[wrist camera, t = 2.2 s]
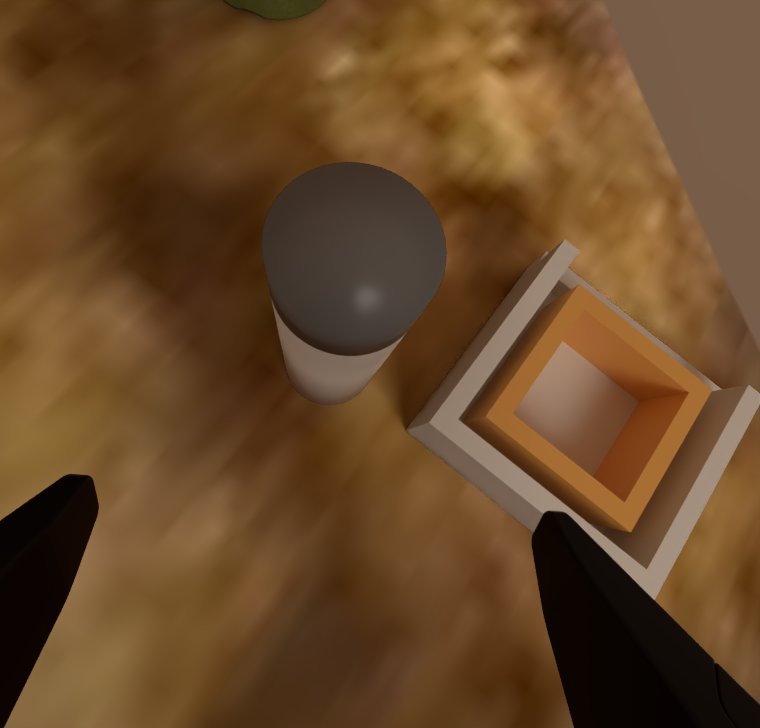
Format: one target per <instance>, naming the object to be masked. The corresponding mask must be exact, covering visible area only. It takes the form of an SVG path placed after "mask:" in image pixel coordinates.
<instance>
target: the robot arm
mask: <svg viewBox="0 0 760 728" xmlns="http://www.w3.org/2000/svg"><path fill="white" fill-rule="evenodd" d="M98 510H99V504H98V499H97V494H96V490H95V486H94V481H93V479H92V477H90V476H88V475H78V474H68V475H65V476H63V477H62V478H60V479H59V480H57V481H56V482H55V483H53V484H52V485H50V486H49V487H47V488H46V489H45V490H43V491H42V492H40V493H39V494H37V495H36V496H35V497H33V498H32V499H30V500H29V501H27V502H26V503H25V504H23V505H22V506H20V507H19V508H17V509H16V510H15V511H13V512H12V513H10V514H9V515H8V516H6V517H5V518H3V519H2V520H0V728H4V726H5V724H6V722H7V720H8V718H9V716H10V714H11V712H12V710H13V708H14V706H15V704H16V702H17V700H18V698H19V696H20V694H21V692H22V690H23V688H24V686H25V684H26V682H27V680H28V678H29V675H30V673H31V671H32V669H33V667H34V665H35V663H36V661H37V659H38V657H39V655H40V653H41V651H42V649H43V647H44V645H45V643H46V641H47V639H48V637H49V635H50V633H51V631H52V629H53V627H54V624H55V622H56V620H57V618H58V616H59V614H60V612H61V610H62V608H63V606H64V604H65V602H66V599H67V597H68V595H69V592H70V590H71V587H72V585H73V582H74V579H75V577H76V574H77V571H78V568H79V566H80V563H81V560H82V557H83V554H84V552H85V549H86V546H87V543H88V541H89V538H90V535H91V532H92V530H93V527H94V524H95V521H96V519H97V515H98ZM532 550H533V556H534V562H535V568H536V574H537V580H538V586H539V592H540V598H541V604H542V609H543V615H544V619H545V623H546V627H547V631H548V635H549V638H550V642H551V646H552V649H553V653H554V656H555V660H556V664H557V667H558V671H559V675H560V678H561V682H562V686H563V689H564V693H565V696H566V700H567V704H568V707H569V711H570V715H571V718H572V722H573V725H574V728H760V704H759V703H758V702H757V701H756V700H755V699H753V698H752V697H751V696H750V695H749V694H748V693H747V692H746V691H745V690H744V689H743V688H742V687H741V686H740V685H739V684H738V683H737V682H736V681H735V680H734V679H733V678H732V677H731V676H730V675H729V674H728V673H727V672H726V671H725V670H724V669H723V668H722V667H721V666H720V665H719V664H717V663H714V659H713V658H712V657H711V656H710V655H709V654H708V653H707V652H706V651H705V650H704V649H703V648H702V647H701V646H700V645H699V644H698V643H697V642H696V641H695V640H694V639H693V638H692V637H691V636H690V635H689V634H688V633H687V632H686V631H685V630H684V629H683V628H682V627H681V626H680V625H679V624H678V623H677V622H676V621H675V620H674V619H673V618H672V617H671V616H670V615H669V614H668V613H667V612H666V611H665V610H664V609H663V608H662V607H661V606H660V605H659V604H658V603H657V602H656V601H655V600H654V599H653V598H652V597H651V596H650V595H649V594H648V593H647V592H646V591H645V590H644V589H643V588H642V587H641V586H640V585H639V584H638V583H637V582H636V581H635V580H634V579H633V578H632V577H631V576H630V575H629V574H628V573H627V572H626V571H625V570H624V569H623V568H622V567H621V566H620V565H619V564H618V563H617V562H616V561H615V560H614V559H613V558H612V557H611V556H610V555H609V554H608V553H607V552H606V551H605V550H604V549H603V548H602V547H601V546H600V545H599V544H598V543H597V542H596V541H595V540H594V539H593V538H592V537H591V536H590V535H589V534H588V533H587V532H586V531H585V530H584V529H583V528H582V527H581V526H580V525H579V524H578V523H577V522H576V521H575V520H574V519H573V518H572V517H571V516H569V515H568V514H567V513H565V512H562V511H551V510H549V511H546V512H545V513H544V514H543V515H542V517H541V519H540V521H539V523H538V525H537V527H536V529H535V531H534V533H533V535H532Z"/></svg>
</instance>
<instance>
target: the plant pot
mask: <svg viewBox="0 0 760 728" xmlns="http://www.w3.org/2000/svg"><path fill="white" fill-rule="evenodd" d="M224 1H226V2H227V3H229V4H230V5H232V6H233V7H235V8H242V9H246V10H249V11H252V12H254V13H257V14H259V15H261V16H262V17H264V18H267V19H290V18H295V17H299V16H303V15H306V14H308V13H310V12H312V11H313V10H315V9H317V8H318V7H319V6H321V5H322V4H323V3H324V2H325V1H326V0H224Z"/></svg>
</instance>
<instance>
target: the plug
mask: <svg viewBox="0 0 760 728" xmlns="http://www.w3.org/2000/svg"><path fill="white" fill-rule="evenodd" d="M446 253H447V252H446V241H445V236H444V232H443V229H442V226H441V223H440V221H439V218H438V216H437V214H436V213H435V211H434V209H433V208H432V206H431V205H430V203H429V202H428V200H427V199H426V198H425V197H424V196H423V195H422V193H421V192H420V191H419V190H417V189H416V188H415V187H414V186H413V185H412V184H411V183H409V182H408V181H406V180H405V179H403V178H402V177H400V176H398V175H397V174H395V173H393V172H391V171H388V170H386V169H383V168H381V167H377V166H374V165H370V164H364V163H355V162H343V163H333V164H328V165H324V166H321V167H318V168H315V169H312V170H310V171H308V172H306V173H304V174H302V175H301V176H299V177H298V178H296V179H295V180H293V181H292V182H291V183H290V184H289V185H287V186H286V187H285V188H284V189H283V190H282V192H281V193H280V194H279V195H278V196H277V198H276V199H275V201H274V202H273V204H272V206H271V207H270V210H269V212H268V214H267V216H266V220H265V223H264V227H263V233H262V255H263V261H264V266H265V271H266V276H267V281H268V285H269V290H270V295H271V300H272V304H273V309H274V314H275V319H276V323H277V328H278V333H279V338H280V342H281V347H282V352H283V357H284V361H285V366H286V371H287V374H288V377H289V380H290V382H291V383H292V385H293V387H294V388H295V389H296V390H297V391H298V392H299V393H300V394H301V395H302V396H303V397H305V398H306V399H308V400H310V401H312V402H315V403H318V404H323V405H336V404H341V403H344V402H347V401H349V400H351V399H352V398H354V397H355V396H357V395H358V394H359V393H360V392H361V391H362V390H363V389H364V387H365V386H366V385H367V384H368V382H369V381H370V380H371V378H372V377H373V376H374V374H375V373H376V372H377V371H378V369H379V368H380V367H381V365H382V364H383V363H384V362H385V360H386V359H387V358H388V356H389V355H390V354H391V352H392V351H393V350H394V349H395V347H396V346H397V345H398V343H399V342H400V341H401V339H402V338H403V337H404V336H405V334H406V333H407V332H408V330H409V329H410V328H411V327H412V325H413V324H414V323H415V321H416V320H417V319H418V317H419V316H420V315H421V314H422V312H423V311H424V310H425V308H426V307H427V306H428V304H429V303H430V302H431V300H432V299H433V297H434V296H435V294H436V292H437V290H438V288H439V286H440V284H441V282H442V279H443V276H444V271H445V266H446Z"/></svg>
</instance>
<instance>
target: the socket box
mask: <svg viewBox="0 0 760 728" xmlns="http://www.w3.org/2000/svg"><path fill="white" fill-rule="evenodd" d="M578 253H579V250H578V249H577V248H575V247H574V246H573V245H572V244H570V243H569V242H568V241H566V240H565V239H564V240H563V241H562V242H561V243H560V244H559V245H557V246H556V247H555V248H554V249H553V250H552V251H551V252H547V251H546V252H545V253H543V254H542V255H541V256H540V257H539V258H538V259H537V260H535V261H534V262H533V263H532V264H531V265H530V266H529V267H528V268H527V269H526V270H525V272H524V273H523V274H522V276H521V277H520V278H519V280H518V281H517V282H516V284H515V285H514V286H513V288H512V289H511V290H510V292H509V293H508V294H507V296H506V297H505V298H504V300H503V301H502V302H501V304H500V305H499V306H498V308H497V309H496V310H495V312H494V313H493V314H492V316H491V317H490V318H489V320H488V321H487V322H486V324H485V325H484V326H483V328H482V329H481V330H480V332H479V333H478V334H477V336H476V337H475V338H474V340H473V341H472V342H471V344H470V345H469V346H468V348H467V349H466V350H465V352H464V353H463V354H462V356H461V357H460V358H459V360H458V361H457V362H456V364H455V365H454V366H453V368H452V369H451V370H450V372H449V373H448V374H447V376H446V377H445V378H444V380H443V381H442V382H441V384H440V385H439V386H438V388H437V389H436V390H435V392H434V393H433V394H432V396H431V397H430V398H429V400H428V401H427V402H426V404H425V405H424V406H423V408H422V409H421V410H420V412H419V413H418V414H417V416H416V417H415V418H414V420H413V421H412V422H411V424H410V425H409V426H408V427H407V429H406V430H405V431H407V432H408V433H409V434H410V435H412V436H413V437H414V438H415V439H417V440H418V441H419V442H420V443H422V444H423V445H424V446H425V447H427V448H428V449H429V450H430V451H432V452H433V453H434V454H435V455H437V456H438V457H439V458H440V459H442V460H443V461H444V462H445V463H447V464H448V465H449V466H450V467H452V468H453V469H454V470H455V471H457V472H458V473H459V474H460V475H462V476H463V477H464V478H465V479H467V480H468V481H469V482H470V483H472V484H473V485H474V486H475V487H477V488H478V489H479V490H480V491H482V492H483V493H484V494H486V495H487V496H488V497H489V498H491V499H492V500H493V501H494V502H496V503H497V504H498V505H499V506H501V507H502V508H503V509H504V510H506V511H507V512H508V513H509V514H511V515H512V516H513V517H514V518H516V519H517V520H518V521H519V522H521V523H522V524H523V525H524V526H526V527H527V528H528V529H529V530H531V531H532V532H533V533H534V531H535V529H536V527H537V525H538V523H539V521H540V519H541V517H542V515H543V514H544V513H545V512H546V511H549V510H551V511H562V512H565V513H567V514H568V515H569V516H571V517H572V518H573V519H574V520H575V521H576V522H577V523H578V524H579V525H580V526H581V527H582V528H583V529H584V530H585V531H586V532H587V533H588V534H589V535H590V536H591V537H592V538H593V539H594V540H595V541H596V542H597V543H598V544H599V545H600V546H601V547H602V548H603V549H604V550H605V551H606V552H607V553H608V554H609V555H610V556H611V557H612V558H613V559H614V560H615V561H616V562H617V563H618V564H619V565H620V566H621V567H622V568H623V569H624V570H625V571H626V572H627V573H628V574H629V575H630V576H631V577H632V578H633V579H634V580H635V581H636V582H637V583H638V584H639V585H640V586H641V587H642V588H643V589H644V590H645V591H646V592H647V593H648V594H649V595H650V596H651V597H652V598H653V599H654V600H655V598H656V596H657V595H658V593H659V591H660V589H661V587H662V585H663V583H664V581H665V580H666V578H667V576H668V574H669V572H670V570H671V568H672V567H673V565H674V563H675V561H676V559H677V557H678V555H679V554H680V552H681V550H682V548H683V546H684V544H685V542H686V541H687V539H688V537H689V535H690V533H691V531H692V529H693V527H694V526H695V524H696V522H697V520H698V518H699V516H700V514H701V513H702V511H703V509H704V507H705V505H706V503H707V501H708V500H709V498H710V496H711V494H712V492H713V490H714V488H715V487H716V485H717V483H718V481H719V479H720V477H721V475H722V474H723V472H724V470H725V468H726V466H727V464H728V462H729V460H730V459H731V457H732V455H733V453H734V451H735V449H736V447H737V446H738V444H739V442H740V440H741V438H742V436H743V434H744V433H745V431H746V429H747V427H748V425H749V423H750V421H751V420H752V418H753V416H754V414H755V412H756V410H757V408H758V407H759V405H760V393H759V392H757V391H756V390H755V389H753V388H752V387H751V386H750V385H744V386H739V387H733V388H727V389H720V388H719V387H718V386H717V385H715V384H714V383H713V382H712V381H710V380H709V379H708V378H707V377H705V376H704V375H703V374H701V373H700V372H699V371H698V370H696V369H695V368H694V367H693V366H691V365H690V364H689V363H688V362H686V361H685V360H684V359H683V358H681V357H680V356H679V355H677V354H676V353H675V352H674V351H672V350H671V349H670V348H669V347H667V346H666V345H665V344H664V343H662V342H661V341H660V340H659V339H657V338H656V337H655V336H653V335H652V334H651V333H650V332H648V331H647V330H646V329H645V328H643V327H642V326H641V325H640V324H638V323H637V322H636V321H635V320H633V319H632V318H631V317H629V316H628V315H627V314H626V313H624V312H623V311H622V310H621V309H619V308H618V307H617V306H616V305H614V304H613V303H612V302H611V301H609V300H608V299H607V298H605V297H604V296H603V295H602V294H600V293H599V292H598V291H597V290H595V289H594V288H593V287H592V286H590V285H589V284H588V283H587V282H585V281H584V280H583V279H582V278H580V277H579V276H578V275H576V274H575V273H574V272H573V271H571V270H570V269H569V268H568V267H569V265H570V264H571V262H572V261H573V260H574V258H575V257H576V256H577V254H578Z"/></svg>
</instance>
